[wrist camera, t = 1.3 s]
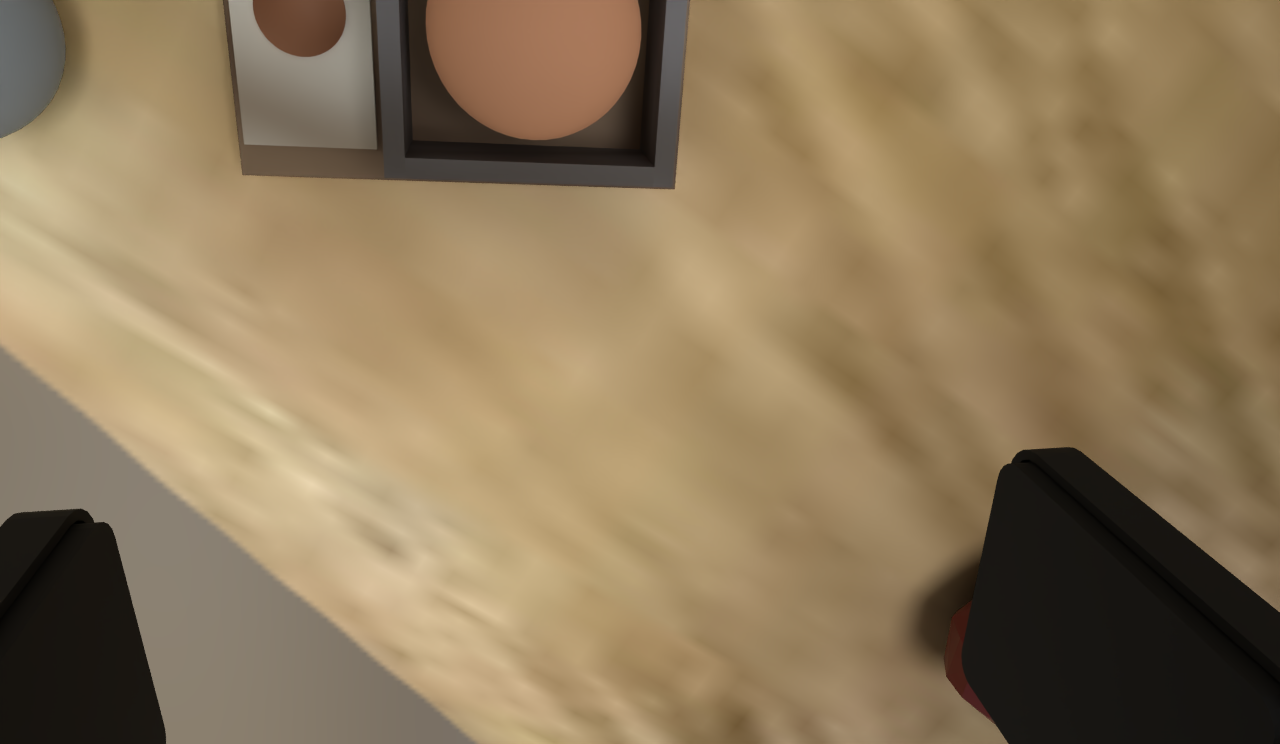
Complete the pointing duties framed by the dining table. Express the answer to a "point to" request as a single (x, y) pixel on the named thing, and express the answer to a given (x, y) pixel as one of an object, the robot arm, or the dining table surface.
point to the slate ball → (28, 60)
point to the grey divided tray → (428, 102)
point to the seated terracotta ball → (534, 60)
